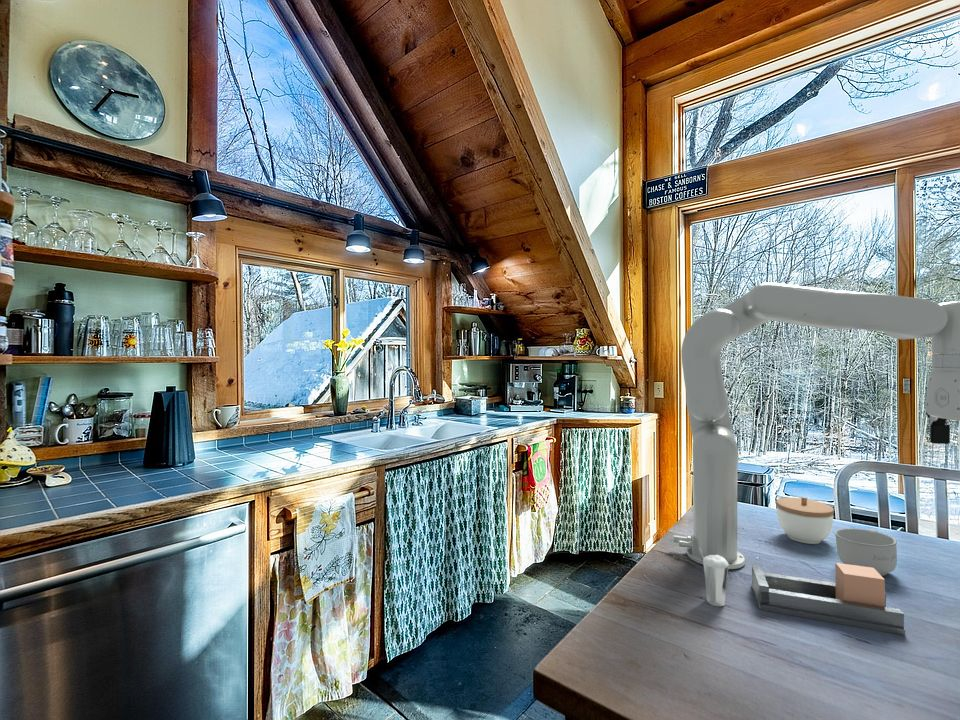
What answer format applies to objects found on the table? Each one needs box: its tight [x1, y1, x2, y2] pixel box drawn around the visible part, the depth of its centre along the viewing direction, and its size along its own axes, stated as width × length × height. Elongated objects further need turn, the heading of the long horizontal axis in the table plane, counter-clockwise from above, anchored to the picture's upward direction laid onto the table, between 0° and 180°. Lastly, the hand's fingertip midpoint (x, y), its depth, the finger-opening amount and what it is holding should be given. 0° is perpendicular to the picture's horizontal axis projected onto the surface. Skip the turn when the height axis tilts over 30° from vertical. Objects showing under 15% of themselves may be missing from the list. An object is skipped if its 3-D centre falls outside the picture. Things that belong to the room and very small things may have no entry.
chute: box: [751, 565, 906, 636], centre depth 90 cm, size 22×10×4 cm, turn 68°
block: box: [834, 562, 886, 607], centre depth 87 cm, size 6×5×7 cm
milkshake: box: [699, 548, 729, 608], centre depth 92 cm, size 5×5×10 cm
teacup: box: [834, 527, 898, 577], centre depth 106 cm, size 14×11×8 cm
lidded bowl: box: [775, 496, 835, 545], centre depth 123 cm, size 13×13×11 cm
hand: (958, 447), depth 93 cm, fingers open, 9 cm apart
